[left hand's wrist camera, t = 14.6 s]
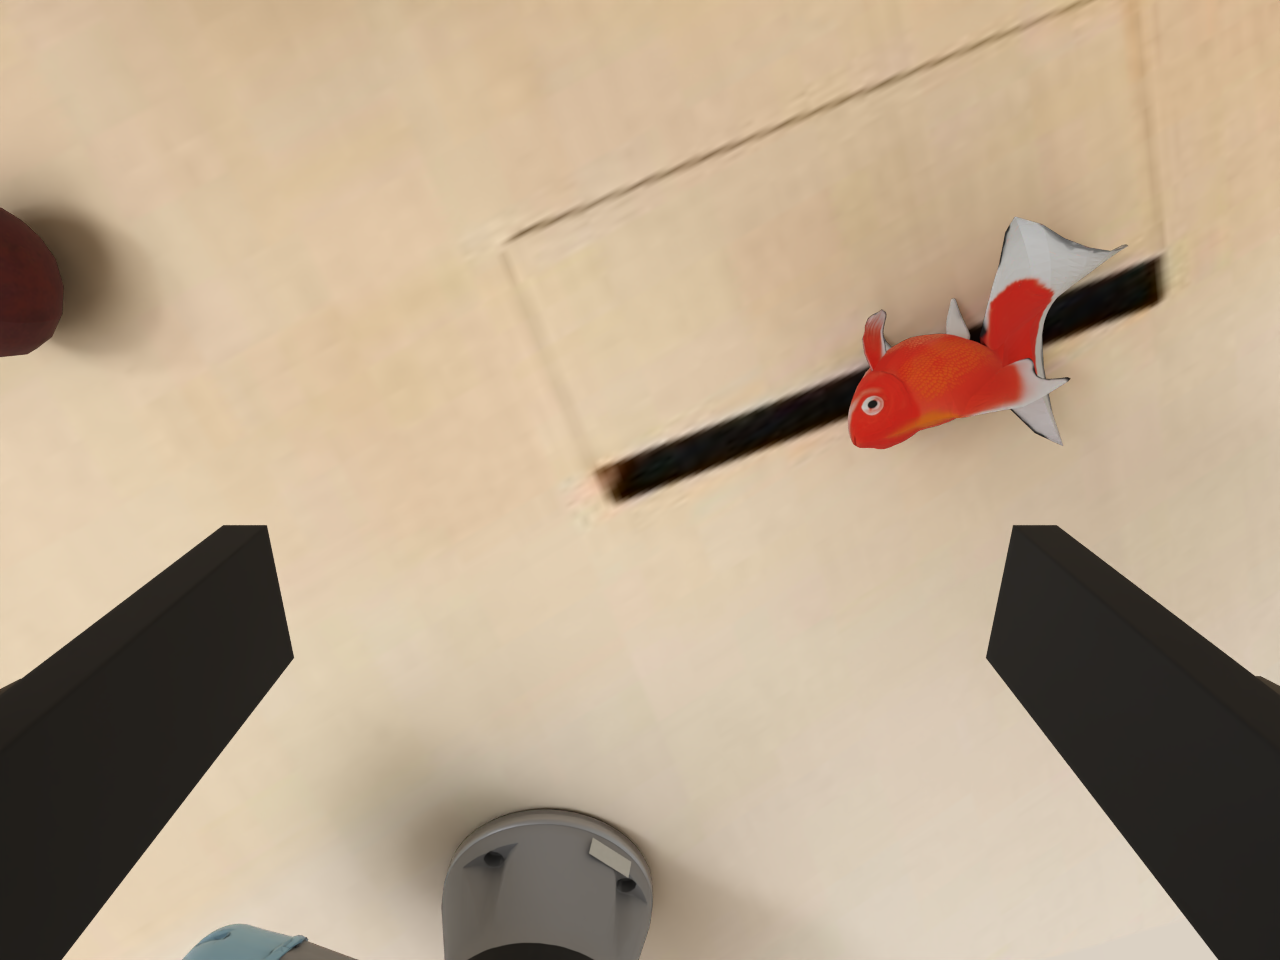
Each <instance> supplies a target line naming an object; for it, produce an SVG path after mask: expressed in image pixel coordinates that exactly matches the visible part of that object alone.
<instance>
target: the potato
mask: <svg viewBox="0 0 1280 960" xmlns="http://www.w3.org/2000/svg"><path fill="white" fill-rule="evenodd" d="M63 289H64V286H63V283H62V279H61V276H60V273H59V269H58V266H57V263H56V259H55V258H54V256H53V255H52V253H51V252H50V251H49V249H48V248H47V246H46V245H45V243H44V242H43V241H42V239H41V238H40V237H39V236H38V235H37V234H36V233H35V232H34V231H33V230H32V229H30V228H29V227H28V226H27V225H26V224H25V223H24V222H23V221H21V220H20V219H19V218H17V217H15V216H14V215H12V214H10V213H9V212H7V211H6V210H4V209H2V208H0V357H6V356H15V355H24V354H28V353H30V352H32V351H33V350H35V349H37V348H38V347H39V346H41V345H42V344H43V343H45V342H46V341H47V340H48V339H50V338H51V337H52V335H53V333H54V331H55V329H56V326H57V324H58V322H59V320H60V317H61V315H62V310H63Z"/></svg>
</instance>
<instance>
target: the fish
mask: <svg viewBox="0 0 1280 960" xmlns="http://www.w3.org/2000/svg"><path fill="white" fill-rule="evenodd" d="M1127 246H1128V245H1121V246H1120V247H1118V248H1116V249H1114V250H1112V251H1108V250H1101V249H1095V248H1089V247H1086V246H1084V245H1081V244H1078V243H1076V242H1073V241H1070V240H1068V239H1065V238H1063V237H1062V236H1060V235H1058V234H1057V233H1055V232H1054V231H1052V230H1050V229H1049V228H1047V227H1046V226H1044V225H1042V224H1039V223H1036V222H1032V221H1029V220H1025V219H1021V218H1018V217H1014V219H1013V221H1012V222H1011V224H1010V226H1009V227H1008V229H1007V231H1006V232H1005V237H1004V242H1003V247H1002V252H1001V258H1000V263H999V266H998V270H997V273H996V276H995V280H994V283H993V286H992V290H991V294H990V298H989V302H988V305H987V309H986V313H985V317H984V321H983V325H982V330H981V333H980V341H981V344H980V343H978V342H975V341H972V340H970V334H969V331H968V328H967V326H966V324H965V322H964V320H963V318H962V316H961V313H960V311H959V308H958V305H957V302H956V300H955V299H951V302H950V307H949V311H948V315H947V321H946V334H932V335H922V336H916V337H912V338H909V339H907V340H904V341H902V342H901V343H899V344H897V345H895V346H893V347H891V346H890V345H889V344H888V343H887V342H886V340H885V339H884V335H883V330H884V324H885V320H886V312H885V311H883V310H880V311H879V312H877V313H875V314H873V315H872V316H870V317H869V318H868V320H867V322H866V325H865V332H864V336H863V339H862V340H863V347H864V353H865V356H866V359H867V361H868V363H869V366H870V368H869V370H868V371H867V372H866V373H865V375H864V377H863V378H862V380H861V381H860V383H859V385H858V386H857V389H856V391H855V394H854V396H853V399H852V402H851V405H850V409H849V415H848V429H849V434H850V438H851V440H852V442H853V444H854V445H855V446H857V447H859V448H876V449H886V448H889V447H892V446H894V445H896V444H899V443H901V442H903V441H905V440H907V439H908V438H910V437H911V436H913V435H914V434H915V433H916V432H918V431H920V430H923V429H926V428H930V427H934V426H938V425H941V424H944V423H946V422H949V421H951V420H953V419H956V418H963V417H969V416H974V415H979V414H984V413H990V412H995V411H1001V410H1007V409H1011V410H1012V411H1013V412H1014V413H1015V414H1016V415H1017V416H1018V417H1019V418H1020V419H1021V420H1022V421H1023V422H1024V423H1025V424H1026V425H1027V426H1028V427H1029V428H1030V429H1031V430H1032V431H1033V432H1034V433H1036V434H1038V435H1040V436H1042V437H1045V438H1047V439H1049V440H1051V441H1053V442H1055V443H1058V444H1060V445H1062V446H1063V444H1062V441H1061V438H1060V435H1059V432H1058V428H1057V425H1056V422H1055V419H1054V416H1053V413H1052V409H1051V404H1050V398H1049V393H1050V392H1052V391H1053V390H1055V389H1056V388H1058V387H1060V386H1061V385H1063V384H1064V383H1066V382H1067V381H1069V380H1070V379H1071V378H1068V377H1065V378H1056V379H1046V377H1045V372H1044V365H1043V347H1042V332H1043V325H1044V321H1045V317H1046V315H1047V312H1048V310H1049V308H1050V307H1051V305H1052V303H1053V302H1054V301H1055V299H1056V298H1057V297H1058V296H1059V295H1061V294H1062V293H1063V292H1065V291H1066V290H1067V289H1068V288H1070V287H1071V286H1072V285H1074V284H1075V283H1077V282H1078V281H1079V280H1081V279H1082V278H1083V277H1085V276H1086V275H1087V274H1089V273H1090V272H1091V271H1093V270H1094V269H1095V268H1097V267H1098V266H1099V265H1101V264H1102V263H1103V262H1105V261H1106V260H1108V259H1109V258H1110V257H1112V256H1113V255H1115V254H1116V253H1117V252H1119V251H1121V250H1122V249H1124V248H1125V247H1127Z"/></svg>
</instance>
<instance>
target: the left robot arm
mask: <svg viewBox="0 0 1280 960" xmlns="http://www.w3.org/2000/svg"><path fill="white" fill-rule="evenodd" d="M293 658H294V655H293V651H292V646H291V641H290V636H289V631H288V626H287V621H286V616H285V612H284V607H283V602H282V597H281V592H280V587H279V582H278V577H277V573H276V568H275V563H274V558H273V553H272V548H271V543H270V538H269V534H268V529H267V525H223V526H222V527H220V528H219V529H218V530H216V531H215V532H214V533H213V534H211V535H210V536H209V537H207V538H206V539H205V540H203V541H202V542H201V543H199V544H198V545H197V546H195V547H194V548H193V549H191V550H190V551H189V552H188V553H186V554H185V555H184V556H182V557H181V558H180V559H178V560H177V561H176V562H174V563H173V564H172V565H170V566H169V567H168V568H167V569H165V570H164V571H163V572H161V573H160V574H159V575H157V576H156V577H155V578H153V579H152V580H151V581H149V582H148V583H147V584H145V585H144V586H143V587H142V588H140V589H139V590H138V591H136V592H135V593H134V594H132V595H131V596H130V597H128V598H127V599H126V600H124V601H123V602H122V603H120V604H119V605H118V606H117V607H115V608H114V609H113V610H111V611H110V612H109V613H107V614H106V615H105V616H103V617H102V618H101V619H99V620H98V621H97V622H96V623H94V624H93V625H92V626H90V627H89V628H88V629H86V630H85V631H84V632H82V633H81V634H80V635H78V636H77V637H76V638H74V639H73V640H72V641H71V642H69V643H68V644H67V645H65V646H64V647H63V648H61V649H60V650H59V651H57V652H56V653H55V654H53V655H52V656H51V657H50V658H48V659H47V660H46V661H44V662H43V663H42V664H40V665H39V666H38V667H36V668H35V669H34V670H32V671H31V672H30V673H28V674H27V675H26V676H25V677H23V678H22V679H19V680H17V681H15V682H13V683H11V684H9V685H7V686H5V687H3V688H1V689H0V960H62V959H63V957H64V956H65V955H66V953H67V952H68V951H69V949H70V948H71V947H72V946H73V944H74V943H75V942H76V940H77V939H78V938H79V937H80V935H81V934H82V933H83V931H84V930H85V929H86V927H87V926H88V925H89V924H90V922H91V921H92V920H93V918H94V917H95V916H96V914H97V913H98V912H99V911H100V909H101V908H102V907H103V905H104V904H105V903H106V901H107V900H108V899H109V898H110V896H111V895H112V894H113V892H114V891H115V890H116V888H117V887H118V886H119V885H120V883H121V882H122V881H123V879H124V878H125V877H126V875H127V874H128V873H129V872H130V870H131V869H132V868H133V866H134V865H135V864H136V862H137V861H138V860H139V859H140V857H141V856H142V855H143V853H144V852H145V851H146V849H147V848H148V847H149V846H150V844H151V843H152V842H153V840H154V839H155V838H156V836H157V835H158V834H159V833H160V831H161V830H162V829H163V827H164V826H165V825H166V823H167V822H168V821H169V820H170V818H171V817H172V816H173V814H174V813H175V812H176V810H177V809H178V808H179V807H180V805H181V804H182V803H183V801H184V800H185V799H186V797H187V796H188V795H189V794H190V792H191V791H192V790H193V788H194V787H195V786H196V785H197V783H198V782H199V781H200V779H201V778H202V777H203V775H204V774H205V773H206V772H207V770H208V769H209V768H210V766H211V765H212V764H213V762H214V761H215V760H216V759H217V757H218V756H219V755H220V753H221V752H222V751H223V749H224V748H225V747H226V746H227V744H228V743H229V742H230V740H231V739H232V738H233V736H234V735H235V734H236V733H237V731H238V730H239V729H240V727H241V726H242V725H243V723H244V722H245V721H246V720H247V718H248V717H249V716H250V714H251V713H252V712H253V710H254V709H255V708H256V707H257V705H258V704H259V703H260V701H261V700H262V699H263V697H264V696H265V695H266V694H267V692H268V691H269V690H270V688H271V687H272V686H273V684H274V683H275V682H276V681H277V679H278V678H279V677H280V675H281V674H282V673H283V671H284V670H285V669H286V668H287V666H288V665H289V664H290V662H291V661H292V660H293ZM986 658H987V660H988V661H989V662H990V664H991V665H992V666H993V668H994V669H995V670H996V671H997V673H998V674H999V675H1000V677H1001V678H1002V679H1003V681H1004V682H1005V683H1006V684H1007V686H1008V687H1009V688H1010V690H1011V691H1012V692H1013V694H1014V695H1015V696H1016V697H1017V699H1018V700H1019V701H1020V703H1021V704H1022V705H1023V707H1024V708H1025V709H1026V710H1027V712H1028V713H1029V714H1030V716H1031V717H1032V718H1033V720H1034V721H1035V722H1036V723H1037V725H1038V726H1039V727H1040V729H1041V730H1042V731H1043V733H1044V734H1045V735H1046V736H1047V738H1048V739H1049V740H1050V742H1051V743H1052V744H1053V746H1054V747H1055V748H1056V749H1057V751H1058V752H1059V753H1060V755H1061V756H1062V757H1063V759H1064V760H1065V761H1066V762H1067V764H1068V765H1069V766H1070V768H1071V769H1072V770H1073V772H1074V773H1075V774H1076V775H1077V777H1078V778H1079V779H1080V781H1081V782H1082V783H1083V785H1084V786H1085V787H1086V788H1087V790H1088V791H1089V792H1090V794H1091V795H1092V796H1093V797H1094V799H1095V800H1096V801H1097V803H1098V804H1099V805H1100V807H1101V808H1102V809H1103V810H1104V812H1105V813H1106V814H1107V816H1108V817H1109V818H1110V820H1111V821H1112V822H1113V823H1114V825H1115V826H1116V827H1117V829H1118V830H1119V831H1120V833H1121V834H1122V835H1123V836H1124V838H1125V839H1126V840H1127V842H1128V843H1129V844H1130V846H1131V847H1132V848H1133V849H1134V851H1135V852H1136V853H1137V855H1138V856H1139V857H1140V859H1141V860H1142V861H1143V862H1144V864H1145V865H1146V866H1147V868H1148V869H1149V870H1150V872H1151V873H1152V874H1153V875H1154V877H1155V878H1156V879H1157V881H1158V882H1159V883H1160V885H1161V886H1162V887H1163V888H1164V890H1165V891H1166V892H1167V894H1168V895H1169V896H1170V898H1171V899H1172V900H1173V901H1174V903H1175V904H1176V905H1177V907H1178V908H1179V909H1180V911H1181V912H1182V913H1183V914H1184V916H1185V917H1186V918H1187V920H1188V921H1189V922H1190V924H1191V925H1192V926H1193V927H1194V929H1195V930H1196V931H1197V933H1198V934H1199V935H1200V936H1201V938H1202V939H1203V940H1204V942H1205V943H1206V944H1207V946H1208V947H1209V948H1210V949H1211V951H1212V952H1213V953H1214V955H1215V956H1216V957H1217V958H1218V960H1280V686H1279V685H1277V684H1275V683H1273V682H1271V681H1269V680H1267V679H1265V678H1263V677H1261V676H1254V675H1253V674H1252V673H1250V672H1249V671H1248V670H1246V669H1245V668H1244V667H1242V666H1241V665H1240V664H1238V663H1237V662H1236V661H1234V660H1233V659H1232V658H1230V657H1229V656H1228V655H1227V654H1225V653H1224V652H1223V651H1221V650H1220V649H1219V648H1217V647H1216V646H1215V645H1213V644H1212V643H1211V642H1209V641H1208V640H1207V639H1206V638H1204V637H1203V636H1202V635H1200V634H1199V633H1198V632H1196V631H1195V630H1194V629H1192V628H1191V627H1190V626H1188V625H1187V624H1186V623H1184V622H1183V621H1182V620H1181V619H1179V618H1178V617H1177V616H1175V615H1174V614H1173V613H1171V612H1170V611H1169V610H1167V609H1166V608H1165V607H1163V606H1162V605H1161V604H1160V603H1158V602H1157V601H1156V600H1154V599H1153V598H1152V597H1150V596H1149V595H1148V594H1146V593H1145V592H1144V591H1142V590H1141V589H1140V588H1138V587H1137V586H1136V585H1135V584H1133V583H1132V582H1131V581H1129V580H1128V579H1127V578H1125V577H1124V576H1123V575H1121V574H1120V573H1119V572H1117V571H1116V570H1115V569H1113V568H1112V567H1111V566H1110V565H1108V564H1107V563H1106V562H1104V561H1103V560H1102V559H1100V558H1099V557H1098V556H1096V555H1095V554H1094V553H1092V552H1091V551H1090V550H1089V549H1087V548H1086V547H1085V546H1083V545H1082V544H1081V543H1079V542H1078V541H1077V540H1075V539H1074V538H1073V537H1071V536H1070V535H1069V534H1067V533H1066V532H1065V531H1064V530H1062V529H1061V528H1060V527H1058V526H1057V525H1013V529H1012V534H1011V538H1010V543H1009V548H1008V553H1007V558H1006V563H1005V568H1004V573H1003V577H1002V582H1001V587H1000V592H999V597H998V602H997V607H996V612H995V616H994V621H993V626H992V631H991V636H990V641H989V646H988V651H987V655H986ZM652 902H653V897H652V878H651V874H650V870H649V868H648V865H647V863H646V861H645V859H644V857H643V855H642V854H641V853H640V851H639V850H638V848H637V847H636V846H635V845H634V844H633V843H632V842H631V841H630V840H629V839H628V838H627V837H626V836H624V835H623V834H622V833H621V832H619V831H618V830H616V829H615V828H613V827H611V826H610V825H608V824H606V823H604V822H602V821H599V820H597V819H595V818H592V817H589V816H586V815H583V814H579V813H575V812H569V811H563V810H549V809H540V810H528V811H521V812H516V813H512V814H508V815H505V816H502V817H499V818H497V819H495V820H492V821H490V822H488V823H486V824H484V825H483V826H481V827H480V828H478V829H477V830H475V831H474V832H473V833H471V834H470V835H469V836H468V837H467V838H466V839H465V840H464V841H463V842H462V843H461V845H460V846H459V847H458V849H457V850H456V852H455V854H454V855H453V858H452V860H451V862H450V866H449V869H448V873H447V876H446V879H445V883H444V889H443V896H442V923H443V939H444V955H445V960H639V957H640V954H641V951H642V948H643V945H644V942H645V939H646V936H647V933H648V930H649V926H650V921H651V913H652ZM182 960H357V959H354V958H351V957H349V956H346V955H343V954H341V953H338V952H335V951H332V950H330V949H327V948H324V947H322V946H319V945H316V944H313V943H311V942H308V939H307V937H304V936H302V935H297V936H294V937H291V936H287V935H284V934H280V933H276V932H272V931H268V930H264V929H261V928H257V927H254V926H251V925H247V924H233V925H228V926H225V927H222V928H219V929H217V930H216V931H214V932H212V933H211V934H209V935H208V936H206V937H205V938H203V939H202V940H201V941H200V942H199V943H198V944H197V945H196V946H195V947H194V948H193V949H192V950H191V951H190V952H189V953H188V954H187V955H186V956H185V957H184V958H183V959H182Z"/></svg>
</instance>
